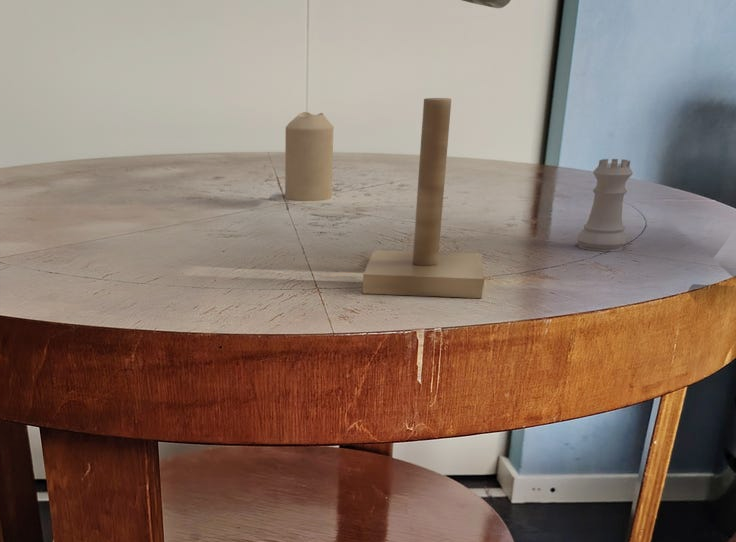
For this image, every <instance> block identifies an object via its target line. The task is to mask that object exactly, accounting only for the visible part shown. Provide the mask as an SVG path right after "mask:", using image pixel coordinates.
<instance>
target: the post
mask: <svg viewBox="0 0 736 542" xmlns="http://www.w3.org/2000/svg"><path fill="white" fill-rule="evenodd" d="M451 109H452V98H448V97H427V98H424V99H423V107H422V121H421V134H420V150H419V164H418V177H417V195H416V206H415V207H416V208H415V219H414V220H415V221H414V235H413V250H386V249H385V250H384V249H382V250H381V249H374V250H373V251H372V253H371V256H370V258H369V260H368V262H367V265H366V268H365V269H364V272H363V274H362V294H365V295H367V294H369V295H392V296H394V295H395V296H417V297H418V296H419V297H441V298H442V297H444V298H462V299H463V298H464V299H465V298H466V299H482V298H483V292H484V281H485V275H484V264H483V254H482V253H478V252H450V251H449V252H447V251H445V252H444V251H440V243H441V231H442V230H441V229H442V219H443V218H442V217H443V206H444V194H445V193H444V192H445V184H446V183H445V182H446V170H447V158H448V147H449V135H450V134H449V133H450V122H451V120H450V119H451Z"/></svg>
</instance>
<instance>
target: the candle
mask: <svg viewBox="0 0 736 542" xmlns="http://www.w3.org/2000/svg"><path fill="white" fill-rule="evenodd" d="M284 151H285V152H284V153H285V157H284V158H285V160H284V162H285V165H284V166H285V167H284V168H285V171H284V178H285V179H284V181H285V182H284V193H285V194H284V199H286V200H289V201H294V202H321V201H328V200H330V199H332V193H333V191H332V190H333V189H332V188H333V159H334V156H333V154H334V126H333V124H332V123H331V122H330V121H329V119H327V117H326V116H325V114H324V113H323V112H320V113H318V114H312V113H311V112H308V111H304V112H300V113H298V114H297V116H295V117H294V118H293V119H292V120H291V121H290V122H289V123H288V124H287V125H286V126H285V150H284Z"/></svg>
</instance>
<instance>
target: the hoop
mask: <svg viewBox="0 0 736 542" xmlns="http://www.w3.org/2000/svg"><path fill="white" fill-rule="evenodd" d="M462 1H463V2H466V3H469V4H475V5H480V6H484V7H488V8H493V9H502V8H504V7H506V6H507V5H508V4H510V2H511V1H512V0H461V2H462Z"/></svg>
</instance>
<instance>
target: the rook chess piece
mask: <svg viewBox="0 0 736 542" xmlns="http://www.w3.org/2000/svg"><path fill="white" fill-rule="evenodd" d="M618 162H619V158H611V162H610V163H609V158H602V159H599V162H598V166H597V167H596V168H595V169H594V170H593V171H592V174H593V175H594V177H595V179H596V185H595V187H594V188H593V189H592V192H593V193H594V196H593V202H592V207H591V210H590V213H589V216H588V219H587V221H586V223H585V224H584V225H583V229H582V230H581V231H580V232H579V233H578V234H577V236H576V240H577V242H578V245H577V247H578V248H580V249H583V250H586V251H593V252H619V251H622V250H624V246H625V245H626V244H627V243H628V235H627V234H626V232H625V226H624V225H623V202H624V196H625V195H626V193H627V192H628V190H627V189H626V183H627V181H628V180H629V179H630V178H631V177H632V176H633V174H634V172H633V171H632V169H631V167H630V165H631V160H628V159H621V161H620V163H618Z"/></svg>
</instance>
